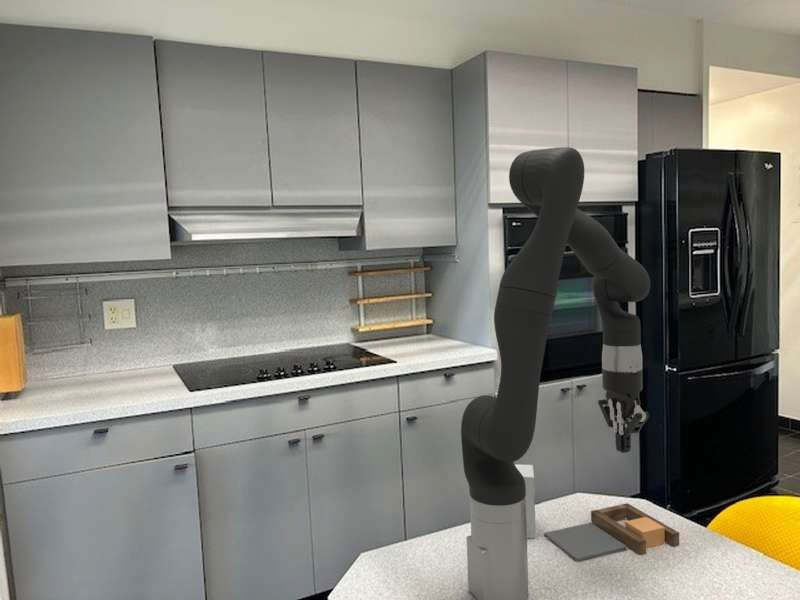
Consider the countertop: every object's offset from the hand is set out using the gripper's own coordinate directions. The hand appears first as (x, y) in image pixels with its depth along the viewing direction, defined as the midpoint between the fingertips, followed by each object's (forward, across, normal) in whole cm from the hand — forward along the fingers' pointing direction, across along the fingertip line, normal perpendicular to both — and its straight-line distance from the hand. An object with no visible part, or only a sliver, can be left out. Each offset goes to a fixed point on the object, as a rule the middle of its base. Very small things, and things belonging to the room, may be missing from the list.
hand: (623, 451), depth 122 cm
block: (+16, +6, 0) cm, 17 cm away
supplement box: (+16, -8, -20) cm, 27 cm away
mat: (+16, +2, -11) cm, 19 cm away
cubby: (+16, +3, 0) cm, 16 cm away
